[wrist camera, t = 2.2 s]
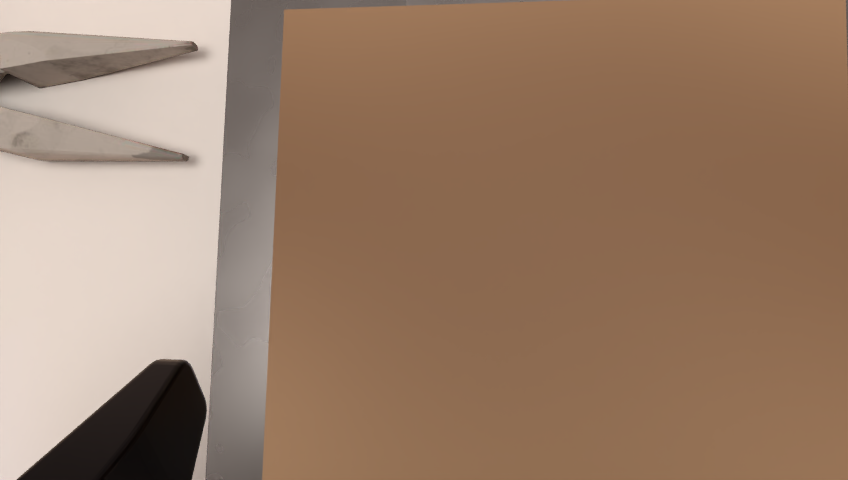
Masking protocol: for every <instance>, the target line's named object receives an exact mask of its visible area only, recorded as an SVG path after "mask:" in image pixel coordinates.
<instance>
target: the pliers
mask: <svg viewBox="0 0 848 480" xmlns="http://www.w3.org/2000/svg"><path fill="white" fill-rule="evenodd" d="M197 50H198V47H197V45H196V44H195V43H194V42H191V41H176V40H160V39H144V38H129V37H113V36H97V35H81V34H66V33H50V32H34V31H21V32H6V33H0V81H1V80H2V79H3V77H4V76H5V75H7V74H8V73H9V74H11V75H13V76H15V77H17V78H19V79H21V80H24V81H26V82H28V83H30V84H32V85H34V86H36V87H38V88H43V87H48V86H53V85H59V84H64V83H69V82H74V81H79V80H84V79H88V78H92V77H96V76H100V75H104V74H108V73H111V72H115V71H119V70H123V69H127V68H131V67H135V66H139V65H143V64H146V63H150V62H154V61H158V60H162V59H166V58H170V57H174V56H177V55H181V54H185V53H189V52H193V51H197ZM0 151H3V152H7V153H12V154H16V155H20V156H24V157H28V158H33V159H37V160H67V161H187V160H188V159H189V157H188V156H186V155H184V154H181V153H177V152H173V151H169V150H166V149H162V148H158V147H154V146H150V145H146V144H143V143H139V142H135V141H131V140H127V139H123V138H120V137H116V136H112V135H108V134H104V133H100V132H96V131H93V130H89V129H85V128H81V127H77V126H73V125H70V124H66V123H62V122H58V121H54V120H50V119H47V118H43V117H39V116H35V115H31V114H27V113H23V112H19V111H15V110H11V109H7V108H3V107H0Z"/></svg>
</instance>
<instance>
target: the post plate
mask: <svg viewBox="0 0 848 480" xmlns="http://www.w3.org/2000/svg"><path fill="white" fill-rule="evenodd" d="M538 1H570V0H231V15H230V34H229V53H228V71H227V90H226V109H225V127H224V146H223V164H222V183H221V202H220V220H219V239H218V258H217V276H216V295H215V314H214V332H213V351H212V369H211V388H210V407H209V425H208V444H207V463H206V480H262V473H263V451H264V430H265V409H266V387H267V366H268V345H269V323H270V302H271V281H272V259H273V238H274V217H275V195H276V174H277V153H278V131H279V110H280V89H281V67H282V46H283V25H284V10H287V9H319V8H350V7H382V6H413V5H444V4H476V3H507V2H538ZM846 27H847V66H848V0H846Z"/></svg>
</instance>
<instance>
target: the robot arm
mask: <svg viewBox="0 0 848 480" xmlns="http://www.w3.org/2000/svg"><path fill="white" fill-rule="evenodd" d="M206 412H207V408H206V400H205V397H204V395H203V392H202V390H201V387H200V385H199V383H198V380H197V378H196V375H195V373H194V371H193V368H192V366H191V364H189V363H188V362H187V361H185V360H171V359H160V360H156V361H154V362H153V363H151V364H150V365H149V366H148V367H146V368H145V369H144V370H143V371H142V372H141V373H139V374H138V375H137V376H136V377H135V378H134V379H132V380H131V381H130V382H129V383H128V384H127V385H126V386H124V387H123V388H122V389H121V390H120V391H119V392H117V393H116V394H115V395H114V396H113V397H112V398H110V399H109V400H108V401H107V402H106V403H105V404H103V405H102V406H101V407H100V408H99V409H98V410H97V411H95V412H94V413H93V414H92V415H91V416H90V417H88V418H87V419H86V420H85V421H84V422H83V423H81V424H80V425H79V426H78V427H77V428H76V429H75V430H73V431H72V432H71V433H70V434H69V435H68V436H66V437H65V438H64V439H63V440H62V441H61V442H59V443H58V444H57V445H56V446H55V447H54V448H53V449H51V450H50V451H49V452H48V453H47V454H46V455H44V456H43V457H42V458H41V459H40V460H39V461H37V462H36V463H35V464H34V465H33V466H32V467H31V468H29V469H28V470H27V471H26V472H25V473H24V474H22V475H21V476H20V477H19V478H18V479H17V480H192V475H193V471H194V467H195V462H196V458H197V454H198V449H199V445H200V441H201V437H202V432H203V428H204V424H205V419H206Z"/></svg>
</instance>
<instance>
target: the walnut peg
mask: <svg viewBox="0 0 848 480" xmlns="http://www.w3.org/2000/svg"><path fill="white" fill-rule="evenodd" d="M262 480H848V66H847V27H846V0H570V1H538V2H507V3H476V4H444V5H413V6H382V7H350V8H319V9H287V10H284V25H283V46H282V67H281V89H280V110H279V131H278V153H277V174H276V195H275V217H274V238H273V259H272V281H271V302H270V323H269V345H268V366H267V387H266V409H265V430H264V451H263V473H262Z"/></svg>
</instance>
